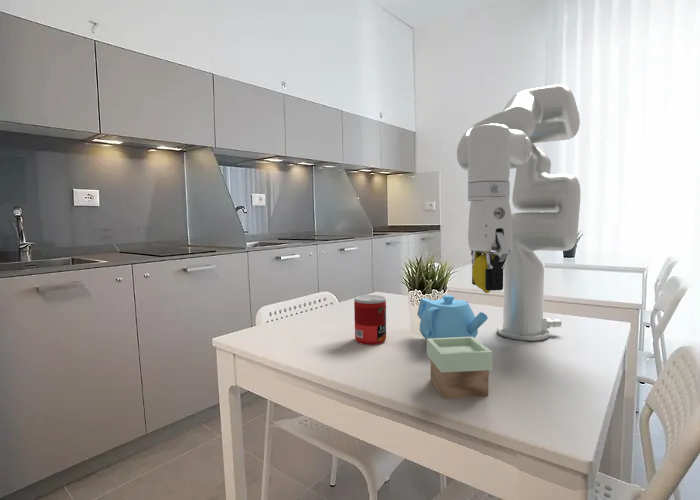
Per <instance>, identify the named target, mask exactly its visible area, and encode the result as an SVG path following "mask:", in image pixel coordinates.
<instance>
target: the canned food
mask: <svg viewBox="0 0 700 500" xmlns="http://www.w3.org/2000/svg"><path fill="white" fill-rule="evenodd" d="M353 304H354V307H353V311H354V339H355V342H357V343H358V344H360V345H366V346H377V345H378V346H379V345H381V344H384V343H385V342H386V339H387V300H386V297H385V296H383V295H375V294H364V295H363V294H362V295H358V296H355V297H354V303H353Z"/></svg>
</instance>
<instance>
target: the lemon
mask: <svg viewBox="0 0 700 500" xmlns="http://www.w3.org/2000/svg"><path fill="white" fill-rule="evenodd" d="M493 258H494V256H492V260H493ZM486 269H488V266H487V258H486V253H484V254H482V255H480V256H479V257H478V258H477V259H476V260H475V262H474V264H473V268H472V267H471V278H472V277H473V281H474V283H475V284H476V285H475V286H476V287H477V288H478V289H481V290H482V291H483V292H484V293H485V294H489V293H490V292H491V291H488V290H486V289H485V274H486Z"/></svg>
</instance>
